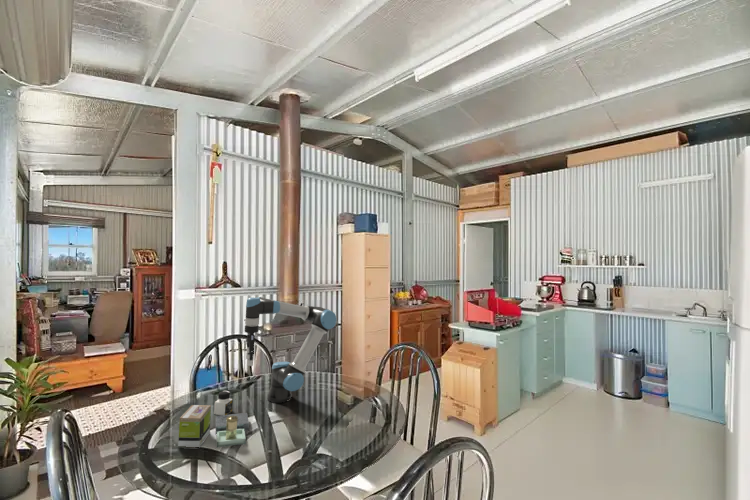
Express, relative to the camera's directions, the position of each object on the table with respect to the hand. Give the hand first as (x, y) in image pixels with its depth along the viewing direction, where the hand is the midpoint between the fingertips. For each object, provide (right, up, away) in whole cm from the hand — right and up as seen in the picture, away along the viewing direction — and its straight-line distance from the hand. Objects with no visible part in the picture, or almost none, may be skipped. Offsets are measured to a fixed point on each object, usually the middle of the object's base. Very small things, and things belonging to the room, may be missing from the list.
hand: (249, 362), depth 215 cm
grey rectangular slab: (-5, -30, -14) cm, 34 cm away
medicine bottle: (-16, -30, +2) cm, 34 cm away
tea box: (-17, -30, -30) cm, 46 cm away
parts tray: (0, -31, -27) cm, 41 cm away
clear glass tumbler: (0, -30, -27) cm, 40 cm away
